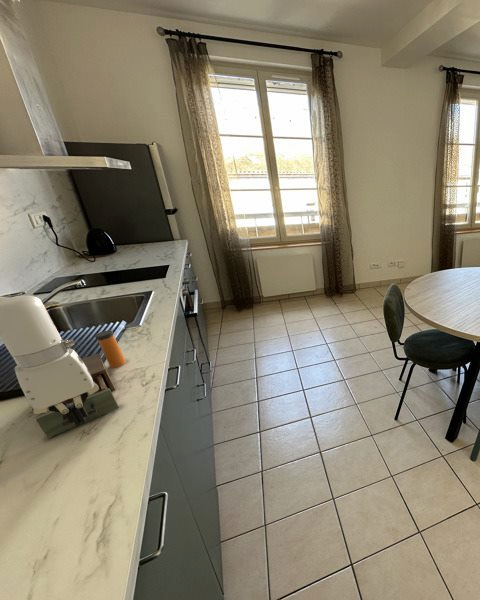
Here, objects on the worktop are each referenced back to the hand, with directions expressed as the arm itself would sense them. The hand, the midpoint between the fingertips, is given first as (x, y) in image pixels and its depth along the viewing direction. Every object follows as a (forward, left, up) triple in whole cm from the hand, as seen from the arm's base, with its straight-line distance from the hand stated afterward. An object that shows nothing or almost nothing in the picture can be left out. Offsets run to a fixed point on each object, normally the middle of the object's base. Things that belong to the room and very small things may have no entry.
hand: (80, 421), depth 76 cm
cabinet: (-22, +8, -5) cm, 24 cm away
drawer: (-9, +3, -4) cm, 11 cm away
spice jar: (-28, +21, -5) cm, 36 cm away
